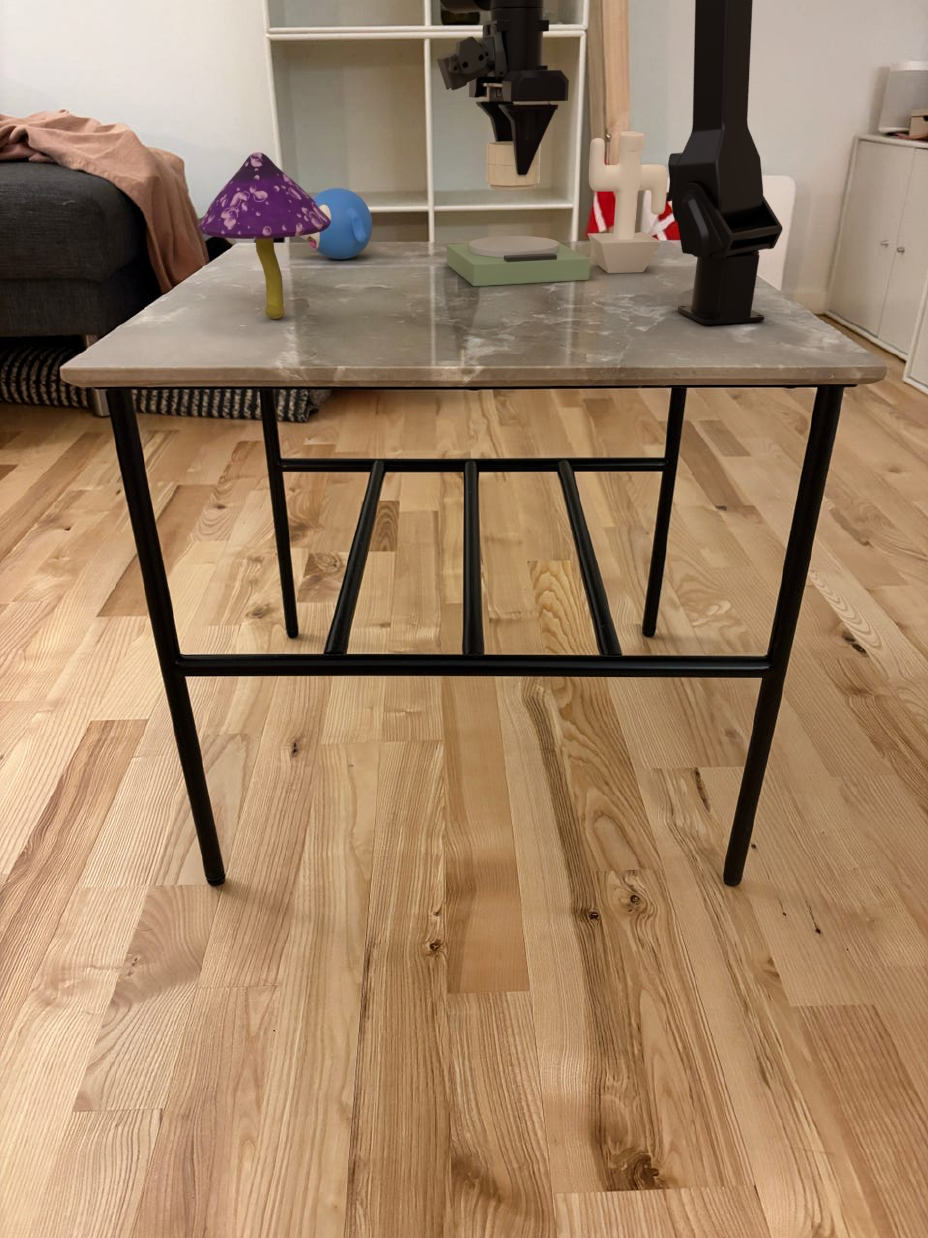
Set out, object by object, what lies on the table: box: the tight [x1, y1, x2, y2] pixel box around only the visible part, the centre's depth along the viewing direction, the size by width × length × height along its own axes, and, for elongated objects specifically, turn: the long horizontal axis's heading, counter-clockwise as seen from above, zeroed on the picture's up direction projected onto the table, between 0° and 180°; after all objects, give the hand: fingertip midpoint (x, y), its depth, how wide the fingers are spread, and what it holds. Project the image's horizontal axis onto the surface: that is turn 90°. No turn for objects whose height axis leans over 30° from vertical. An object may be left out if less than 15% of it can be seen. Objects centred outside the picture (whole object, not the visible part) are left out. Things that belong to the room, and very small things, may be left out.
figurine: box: [587, 130, 669, 274], centre depth 109 cm, size 7×9×15 cm
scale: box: [446, 235, 591, 287], centre depth 112 cm, size 14×14×3 cm
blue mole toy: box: [298, 187, 373, 260], centre depth 118 cm, size 12×12×8 cm
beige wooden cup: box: [486, 141, 542, 191], centre depth 105 cm, size 6×6×5 cm
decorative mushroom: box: [197, 151, 331, 320], centre depth 88 cm, size 12×12×15 cm
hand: (513, 171), depth 106 cm, fingers closed on beige wooden cup, 6 cm apart
